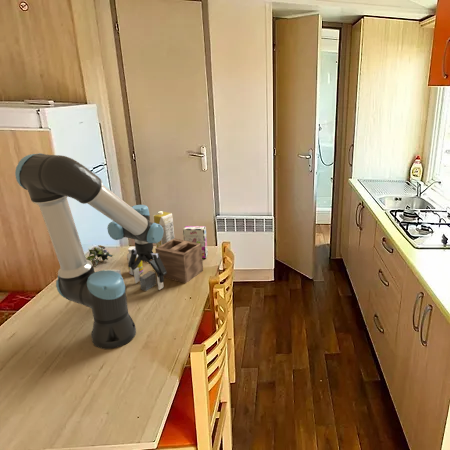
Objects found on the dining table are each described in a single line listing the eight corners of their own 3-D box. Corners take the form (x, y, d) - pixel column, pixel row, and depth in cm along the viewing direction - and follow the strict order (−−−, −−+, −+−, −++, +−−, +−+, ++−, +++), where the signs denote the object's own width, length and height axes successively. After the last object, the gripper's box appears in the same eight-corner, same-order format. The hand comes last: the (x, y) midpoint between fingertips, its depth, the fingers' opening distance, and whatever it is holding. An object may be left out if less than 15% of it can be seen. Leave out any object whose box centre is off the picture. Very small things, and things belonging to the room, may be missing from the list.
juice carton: (167, 250, 203) (163, 208, 195) (178, 253, 198) (174, 210, 190) (155, 256, 195) (150, 213, 187) (165, 259, 191) (161, 215, 183)
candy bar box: (208, 255, 194) (206, 225, 189) (206, 259, 190) (204, 229, 184) (187, 254, 196) (185, 225, 191) (185, 258, 192) (182, 228, 186)
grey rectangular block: (146, 291, 161) (144, 278, 159) (141, 289, 162) (139, 277, 160) (156, 284, 167) (155, 272, 165) (151, 282, 168) (150, 270, 166)
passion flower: (105, 269, 195) (116, 251, 193) (95, 275, 184) (107, 256, 182) (87, 257, 195) (98, 239, 193) (77, 263, 184) (88, 243, 182)
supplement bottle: (146, 271, 179) (143, 246, 175) (136, 276, 174) (133, 251, 170) (136, 268, 183) (133, 244, 178) (126, 273, 177) (122, 249, 173)
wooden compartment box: (185, 283, 166) (183, 254, 162) (158, 275, 174) (155, 248, 169) (203, 270, 177) (201, 243, 173) (176, 264, 185) (174, 238, 181)
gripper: (172, 242, 154) (176, 287, 161) (128, 233, 166) (134, 275, 173) (160, 249, 148) (165, 295, 155) (115, 239, 160) (122, 282, 167)
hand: (149, 285), depth 164 cm, fingers open, 13 cm apart
